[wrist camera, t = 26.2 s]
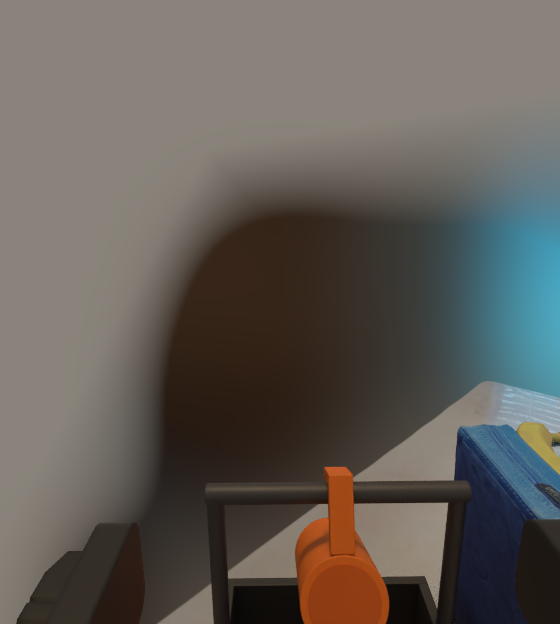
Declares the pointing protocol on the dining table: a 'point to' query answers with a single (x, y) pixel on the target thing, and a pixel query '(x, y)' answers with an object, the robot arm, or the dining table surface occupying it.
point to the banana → (541, 442)
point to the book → (498, 518)
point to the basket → (284, 591)
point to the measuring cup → (338, 564)
